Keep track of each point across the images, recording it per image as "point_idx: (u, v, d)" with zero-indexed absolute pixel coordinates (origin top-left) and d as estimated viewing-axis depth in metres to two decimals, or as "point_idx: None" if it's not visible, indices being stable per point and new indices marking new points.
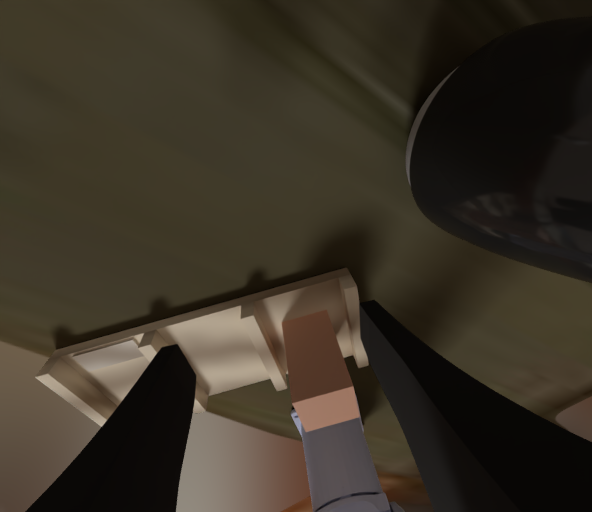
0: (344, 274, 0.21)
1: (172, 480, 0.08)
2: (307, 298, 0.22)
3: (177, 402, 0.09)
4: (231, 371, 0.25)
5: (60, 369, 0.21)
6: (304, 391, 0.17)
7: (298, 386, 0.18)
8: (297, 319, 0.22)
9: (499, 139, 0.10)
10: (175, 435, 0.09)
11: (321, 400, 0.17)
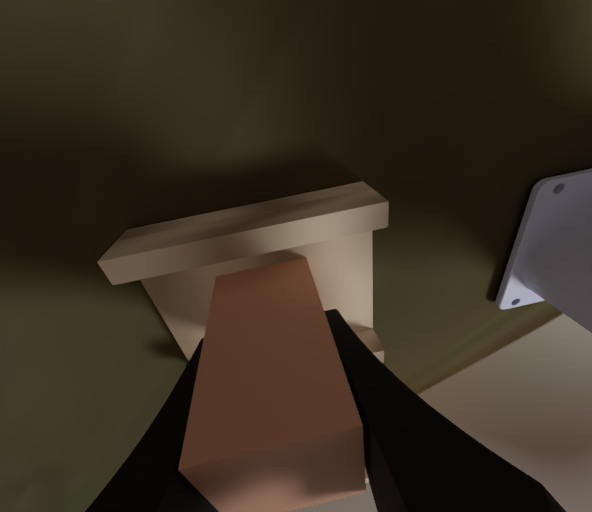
0: None
1: None
2: (186, 307, 0.12)
3: None
4: None
5: None
6: None
7: None
8: None
9: None
10: None
11: (236, 498, 0.07)
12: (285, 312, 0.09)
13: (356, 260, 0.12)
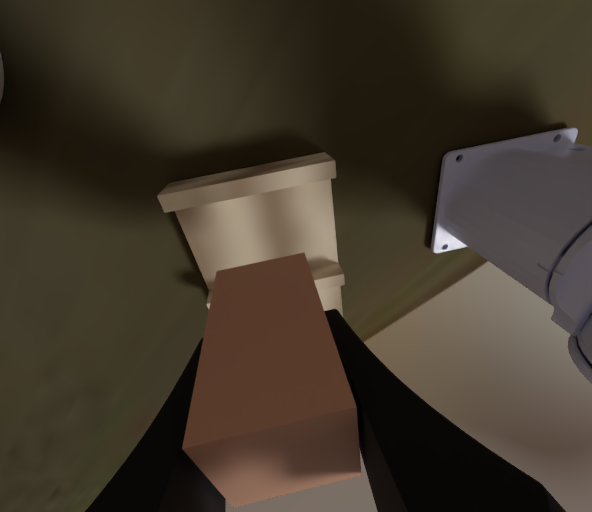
0: None
1: None
2: (206, 239, 0.18)
3: None
4: None
5: None
6: None
7: None
8: None
9: None
10: None
11: (236, 480, 0.07)
12: (284, 304, 0.09)
13: (321, 207, 0.18)
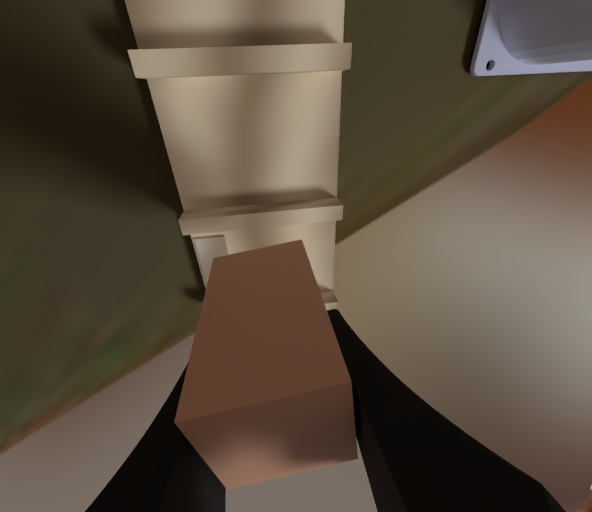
0: None
1: None
2: None
3: None
4: (296, 146, 0.16)
5: None
6: None
7: None
8: None
9: None
10: None
11: (230, 460, 0.07)
12: (280, 287, 0.09)
13: None
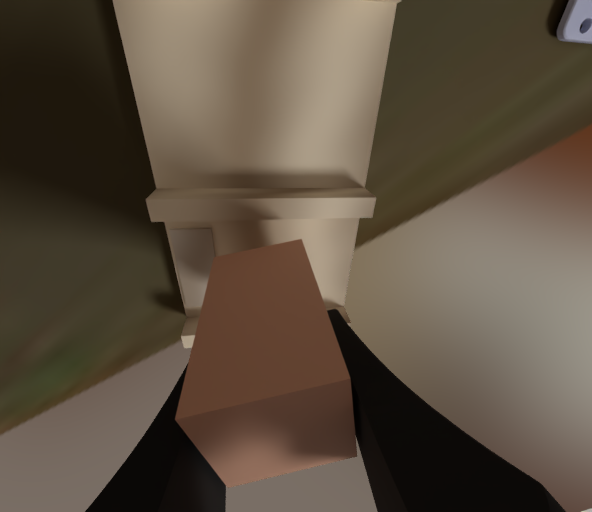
0: None
1: None
2: None
3: None
4: (320, 110, 0.11)
5: (195, 324, 0.16)
6: None
7: None
8: None
9: None
10: None
11: (230, 456, 0.07)
12: (280, 286, 0.09)
13: None
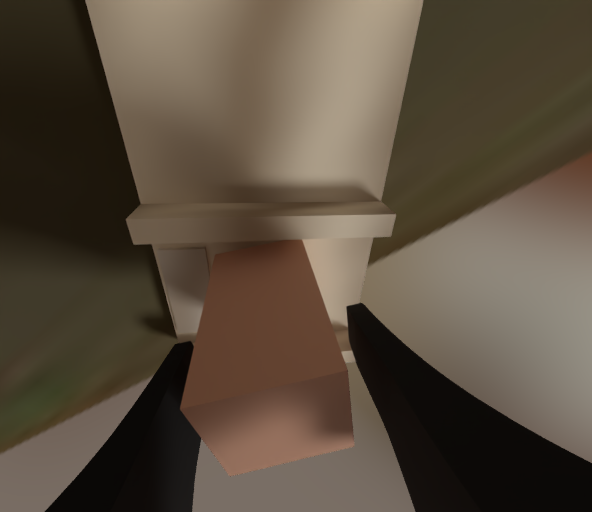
0: None
1: (189, 477, 0.08)
2: None
3: None
4: (332, 112, 0.10)
5: None
6: None
7: None
8: None
9: None
10: (190, 431, 0.09)
11: (233, 446, 0.07)
12: (280, 282, 0.10)
13: None
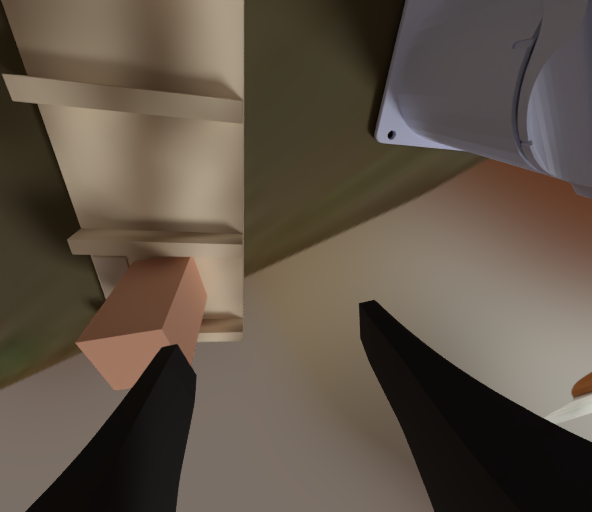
0: None
1: (172, 480, 0.08)
2: None
3: (177, 402, 0.09)
4: (199, 182, 0.16)
5: None
6: None
7: None
8: None
9: None
10: (175, 435, 0.09)
11: (111, 369, 0.14)
12: (160, 283, 0.16)
13: None
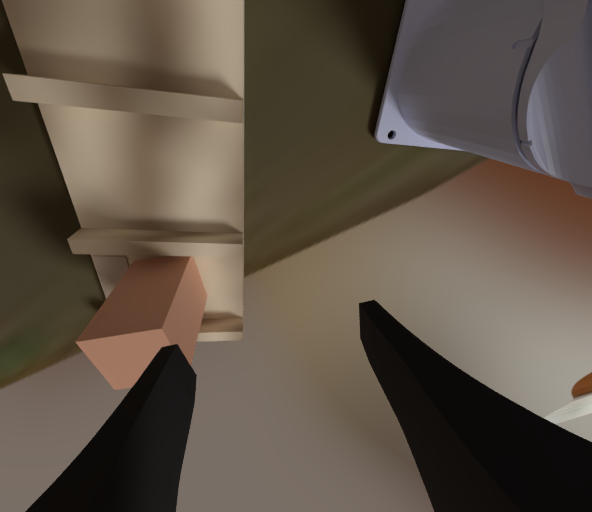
0: None
1: (172, 480, 0.08)
2: None
3: (177, 402, 0.09)
4: (199, 182, 0.16)
5: None
6: None
7: None
8: None
9: None
10: (175, 435, 0.09)
11: (111, 368, 0.14)
12: (160, 282, 0.16)
13: None
